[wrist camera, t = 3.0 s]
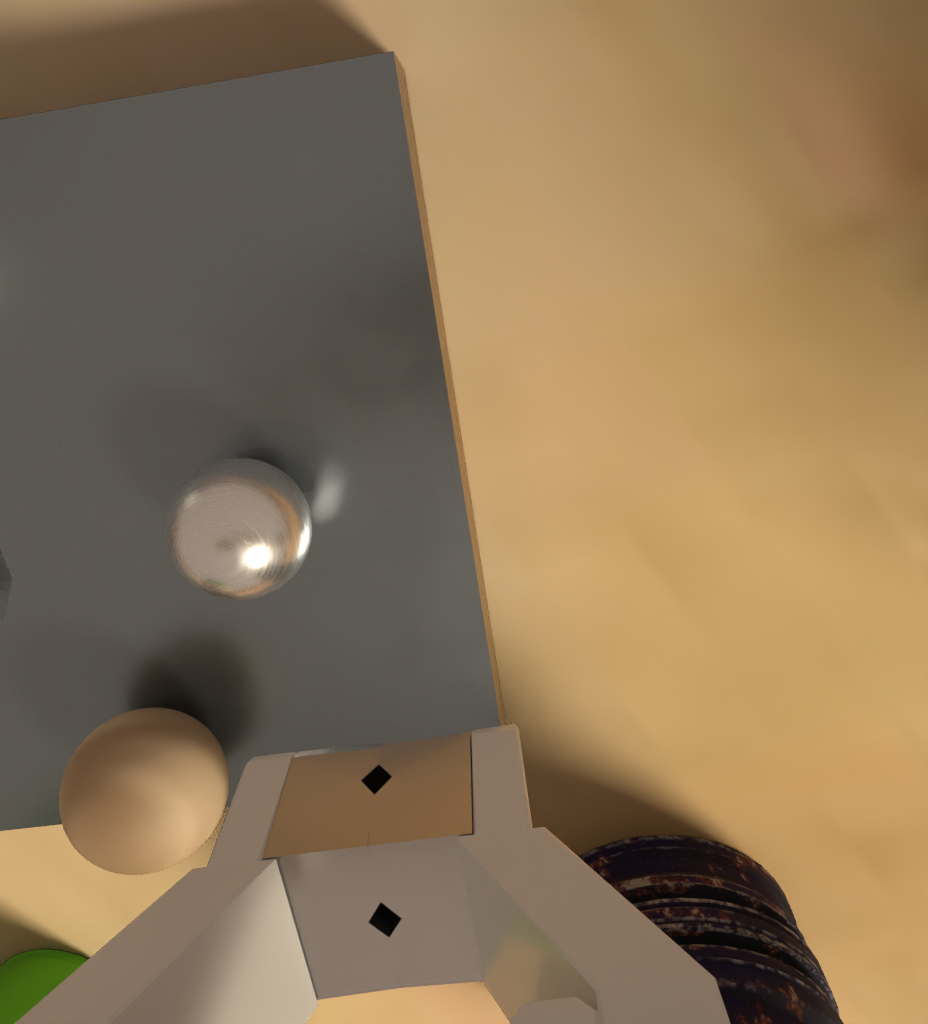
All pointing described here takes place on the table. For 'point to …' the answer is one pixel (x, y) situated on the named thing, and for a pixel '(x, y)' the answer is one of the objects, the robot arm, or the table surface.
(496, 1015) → the table surface
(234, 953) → the robot arm
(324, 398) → the plate
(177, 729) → the wood ball
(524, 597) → the table surface
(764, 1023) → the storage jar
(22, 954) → the cup
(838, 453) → the table surface
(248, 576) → the steel ball
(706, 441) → the table surface
